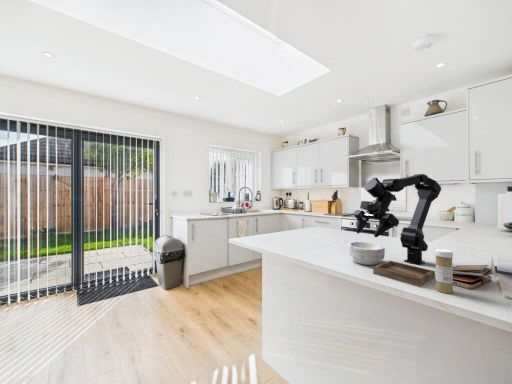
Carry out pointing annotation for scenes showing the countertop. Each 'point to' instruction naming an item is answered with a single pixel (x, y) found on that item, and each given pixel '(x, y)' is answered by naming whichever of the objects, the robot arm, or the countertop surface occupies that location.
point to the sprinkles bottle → (444, 270)
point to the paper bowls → (366, 252)
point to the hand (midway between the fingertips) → (365, 234)
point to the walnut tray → (404, 273)
